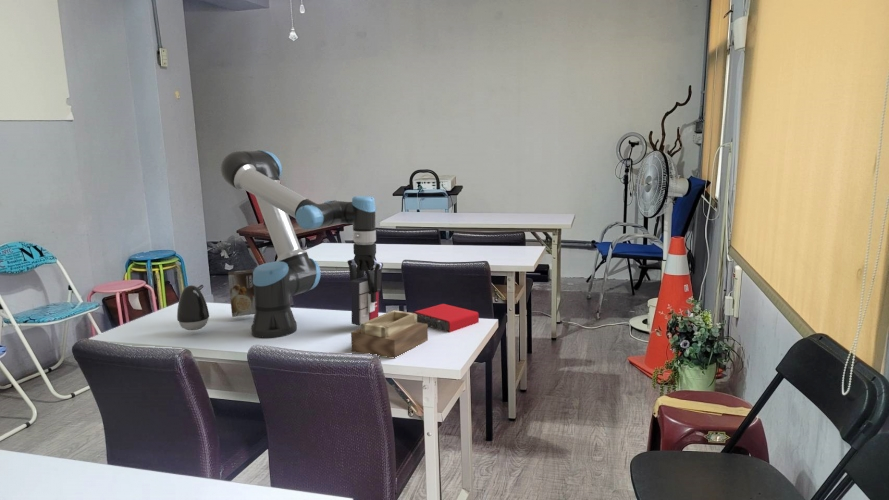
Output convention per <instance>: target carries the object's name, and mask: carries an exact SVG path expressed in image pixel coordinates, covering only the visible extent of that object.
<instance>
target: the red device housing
mask: <svg viewBox="0 0 889 500" xmlns="http://www.w3.org/2000/svg"><path fill="white" fill-rule="evenodd" d="M412 313H416V314H417V322H418V323H424V324H427V325H428V327H429V328H433V329H437V330H439V331H446V332H448V333H452V332H455V331H458V330H462V329H464V328H467V327H470V326H473V325H475V324H478V323H479V322H480V321H479V318H480V317H479V315H480V314H479V312H478V311H475V310H470V309H467V308H462V307H458V306H454V305H449V304H446V303H440V304H438V305H434V306H431V307H426V308H423V309H420V310H416V311H413V312H412Z"/></svg>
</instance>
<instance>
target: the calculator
mask: <svg viewBox="0 0 889 500" xmlns="http://www.w3.org/2000/svg"><path fill="white" fill-rule="evenodd" d="M349 292H350V294H351V324H352V325H355V326H361V324H362V323H364V322H367V321H369V320H371V319H374V318H376V317H379V308H380V307H379V294H380V293H379V292H380V291H379V292H376V302H375V311H373V312H368V292H370V291H369V285H368V279H367V275H364V277H362V278H357V279H354V280H351V281H350V280H349Z"/></svg>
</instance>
